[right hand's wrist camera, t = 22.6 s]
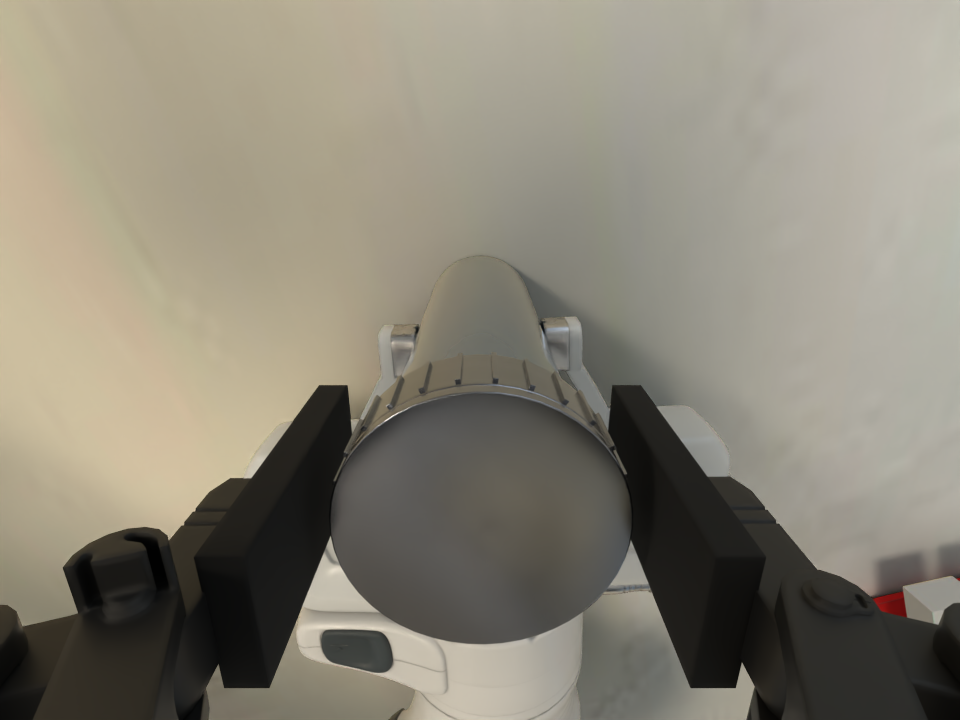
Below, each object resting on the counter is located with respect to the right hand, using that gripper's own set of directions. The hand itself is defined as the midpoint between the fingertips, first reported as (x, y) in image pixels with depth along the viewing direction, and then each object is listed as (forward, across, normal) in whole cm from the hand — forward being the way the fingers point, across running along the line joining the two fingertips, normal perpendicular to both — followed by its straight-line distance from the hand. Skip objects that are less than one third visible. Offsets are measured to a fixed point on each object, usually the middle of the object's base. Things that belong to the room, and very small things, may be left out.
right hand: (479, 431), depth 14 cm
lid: (-4, 0, 0) cm, 4 cm away
